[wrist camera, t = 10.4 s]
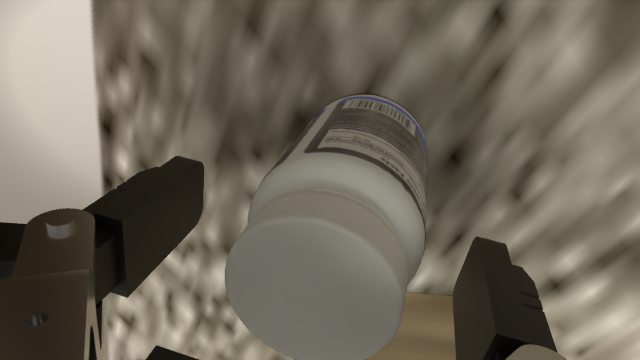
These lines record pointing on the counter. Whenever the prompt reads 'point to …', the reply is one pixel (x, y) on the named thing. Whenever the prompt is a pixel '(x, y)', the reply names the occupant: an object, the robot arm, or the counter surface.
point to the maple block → (422, 330)
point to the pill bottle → (335, 234)
